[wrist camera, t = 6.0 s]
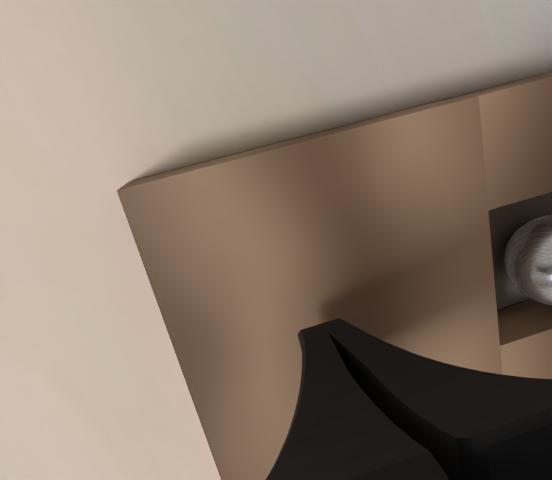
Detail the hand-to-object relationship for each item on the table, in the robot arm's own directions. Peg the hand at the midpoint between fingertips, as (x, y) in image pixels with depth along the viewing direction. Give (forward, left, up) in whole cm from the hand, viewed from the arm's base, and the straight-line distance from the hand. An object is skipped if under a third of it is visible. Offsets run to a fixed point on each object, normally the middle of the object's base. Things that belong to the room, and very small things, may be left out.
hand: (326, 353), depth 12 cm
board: (+5, -2, -3) cm, 6 cm away
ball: (+9, 0, -1) cm, 9 cm away
